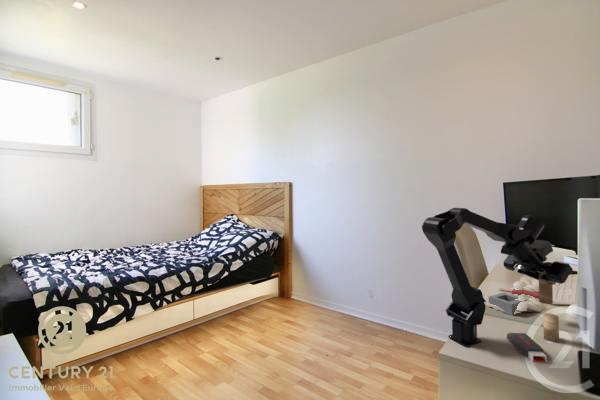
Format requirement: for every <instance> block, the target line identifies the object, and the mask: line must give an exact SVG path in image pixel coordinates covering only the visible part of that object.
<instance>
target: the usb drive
mask: <svg viewBox="0 0 600 400" xmlns="http://www.w3.org/2000/svg"><path fill="white" fill-rule="evenodd" d="M506 339H507V340H508V341H509V343H511V345H512V346H513V347H515V349H516V350H517V351H518V352H519V353H520V354H522V355H523V356H524V357H527V358H529V359H530V360H531V361H532V362H543V363H545V362H546V363H547V362H548V357H547V355H546V354H545V353H544V349H543V347H542V346H540V345H539V344H538V342H536V341H535V340H534V339H533V338H531V337H530V336H529V335H528V334H526V333H523V332H508V333H506Z"/></svg>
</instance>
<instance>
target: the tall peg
mask: <svg viewBox="0 0 600 400" xmlns="http://www.w3.org/2000/svg"><path fill="white" fill-rule="evenodd" d="M547 262H548V261H544V262H543V263H547ZM542 275H543V273H540V272H539V280H538V293H539V298H538V302H539V303H541V304H545V305H552V304H554V298H553V296H554V295H553V291H554V289H553V287H554V285H553V284H551V283H549V282H547V281H544V280H542V279H540V278H541V277H542Z"/></svg>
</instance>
